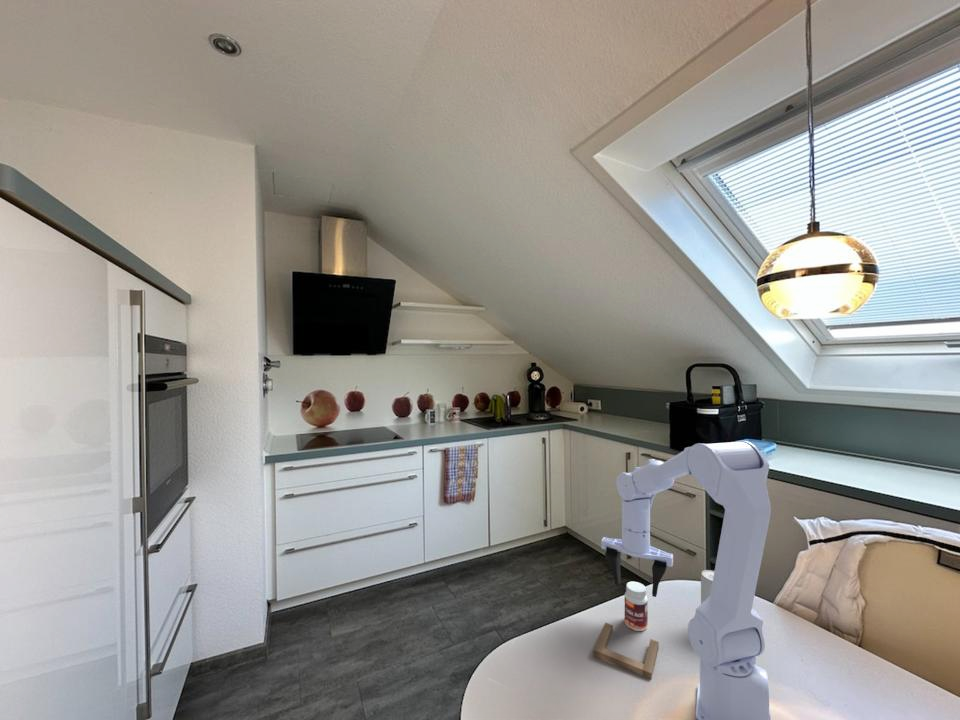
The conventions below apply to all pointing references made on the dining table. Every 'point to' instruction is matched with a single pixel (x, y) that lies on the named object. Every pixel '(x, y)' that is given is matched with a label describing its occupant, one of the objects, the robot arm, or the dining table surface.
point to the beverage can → (706, 584)
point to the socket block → (621, 660)
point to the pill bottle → (636, 606)
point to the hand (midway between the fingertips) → (635, 588)
